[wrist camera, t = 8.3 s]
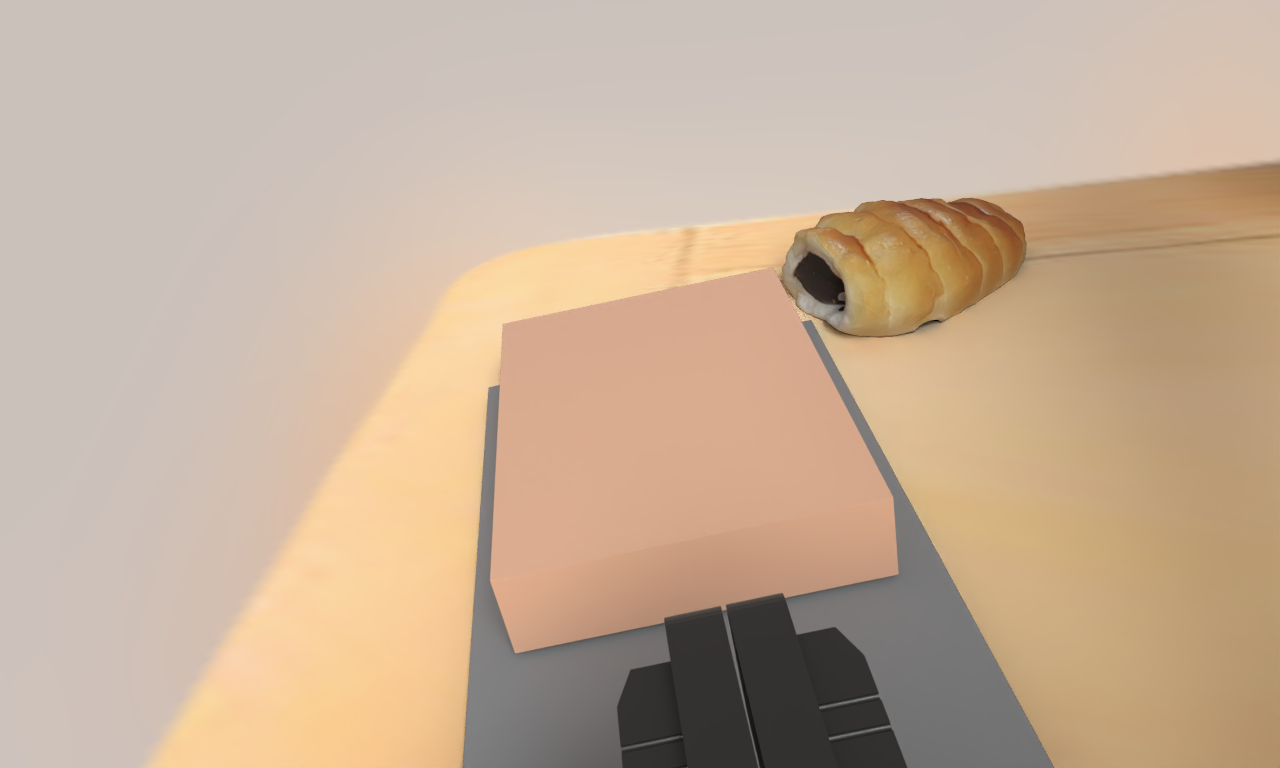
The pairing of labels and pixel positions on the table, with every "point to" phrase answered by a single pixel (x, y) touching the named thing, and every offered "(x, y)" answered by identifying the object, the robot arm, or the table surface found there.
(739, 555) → the tile
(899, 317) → the pastry
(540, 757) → the mat
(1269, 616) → the table surface
